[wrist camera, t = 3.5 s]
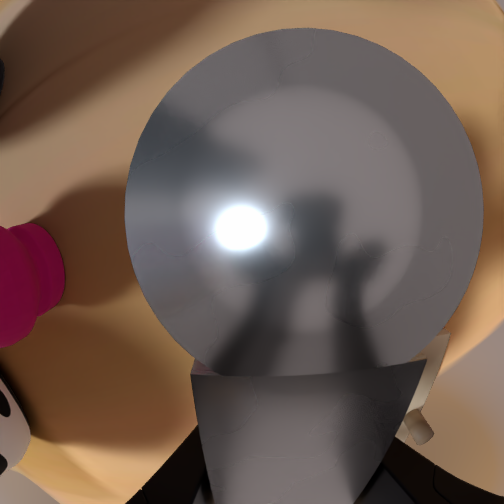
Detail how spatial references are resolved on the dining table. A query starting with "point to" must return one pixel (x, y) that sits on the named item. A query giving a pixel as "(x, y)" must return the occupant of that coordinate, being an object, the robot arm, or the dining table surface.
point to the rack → (424, 392)
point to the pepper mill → (27, 279)
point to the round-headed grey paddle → (302, 252)
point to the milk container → (12, 428)
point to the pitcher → (1, 74)
